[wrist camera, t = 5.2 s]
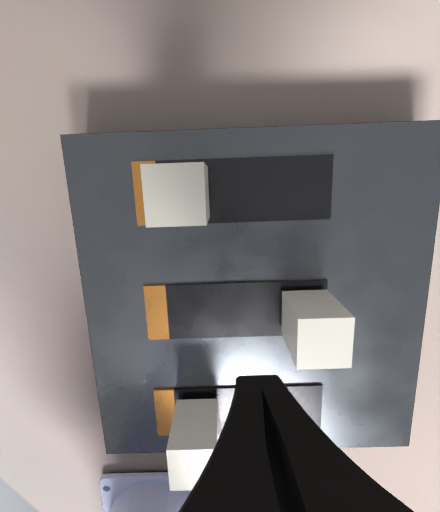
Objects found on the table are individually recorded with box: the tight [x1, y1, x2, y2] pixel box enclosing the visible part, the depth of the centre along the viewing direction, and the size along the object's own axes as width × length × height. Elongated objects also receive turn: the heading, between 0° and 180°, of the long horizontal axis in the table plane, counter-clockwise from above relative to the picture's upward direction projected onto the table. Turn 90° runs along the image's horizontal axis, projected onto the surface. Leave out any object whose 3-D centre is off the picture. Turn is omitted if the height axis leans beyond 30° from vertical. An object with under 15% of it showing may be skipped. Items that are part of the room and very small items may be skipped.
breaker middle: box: [282, 290, 355, 370], centre depth 15 cm, size 2×2×4 cm
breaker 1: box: [140, 162, 210, 228], centre depth 14 cm, size 2×2×4 cm
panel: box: [60, 120, 440, 454], centre depth 18 cm, size 19×19×3 cm
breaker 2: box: [166, 399, 219, 491], centre depth 16 cm, size 2×2×4 cm
